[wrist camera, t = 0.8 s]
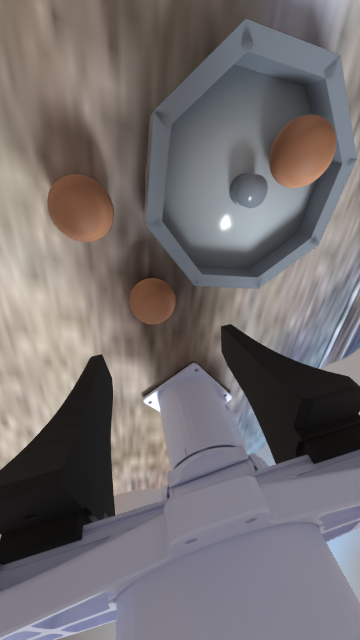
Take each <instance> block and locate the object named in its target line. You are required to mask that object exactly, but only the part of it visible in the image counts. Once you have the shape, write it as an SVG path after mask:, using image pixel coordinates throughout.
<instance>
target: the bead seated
mask: <svg viewBox="0 0 360 640" xmlns="http://www.w3.org/2000/svg"><path fill="white" fill-rule="evenodd" d="M335 150H336V133H335V130H334V128H333V126H332V124H331V123H330V122H329V121H328V120H327V119H326V118H324V117H322V116H320V115H314V114H309V115H304V116H301V117H298V118H296V119H294V120H292V121H291V122H290V123H288V124H287V125H286V126H285V127H284V128H283V129H282V130H281V131H280V132H279V134H278V135H277V137H276V138H275V140H274V142H273V144H272V147H271V150H270V155H269V167H270V171H271V174H272V176H273V178H274V179H275V180H276V181H277V182H278V183H279V184H280V185H282V186H284V187H288V188H299V187H303V186H306V185H308V184H310V183H312V182H314V181H315V180H316V179H318V178H319V177H320V176H321V175H322V174H323V173H324V172H325V171H326V169H327V168H328V166H329V165H330V163H331V161H332V159H333V156H334V154H335Z"/></svg>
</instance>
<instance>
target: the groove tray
mask: <svg viewBox="0 0 360 640" xmlns="http://www.w3.org/2000/svg"><path fill="white" fill-rule="evenodd" d="M309 114H314V115H320V116H322V117H324V118H326V119H327V120H328V121H329V122H330V123H331V124H332V126H333V128H334V130H335V133H336V150H335V154H334V156H333V159H332V161H331V163H330V165H329V166H328V168H327V169H326V171H325V172H324V173H323V174H322V175H321V176H320V177H319V178H318V179H316V180H315V181H314V182H312V183H310V184H308V185H306V186H303V187H299V188H288V187H284V186H282V185H280V184H279V183H278V182H277V181H276V180H275V179H274V178H273V176H272V174H271V171H270V167H269V155H270V150H271V147H272V144H273V142H274V140H275V138H276V137H277V135H278V134H279V132H280V131H281V130H282V129H283V128H284V127H285V126H286V125H287V124H288V123H290V122H291V121H292V120H294V119H296V118H298V117H301V116H304V115H309ZM356 160H357V156H356V150H355V144H354V137H353V131H352V125H351V119H350V113H349V107H348V100H347V94H346V88H345V82H344V76H343V70H342V63H341V57H340V55H339V54H337V53H334V52H331V51H329V50H326V49H324V48H321V47H318V46H316V45H313V44H311V43H308V42H305V41H303V40H300V39H298V38H295V37H292V36H290V35H287V34H285V33H282V32H279V31H277V30H274V29H272V28H269V27H266V26H264V25H261V24H259V23H256V22H253V21H251V20H248V19H245V20H244V21H243V22H242V23H241V24H240V25H239V26H238V27H237V28H236V29H235V30H234V31H233V32H232V33H231V34H230V35H229V36H228V37H227V38H226V39H225V40H224V41H223V42H222V43H221V44H220V45H219V46H218V47H217V48H216V49H215V50H214V51H213V52H212V53H211V54H210V55H209V56H208V57H207V58H206V59H205V60H204V61H203V62H202V63H201V64H200V65H199V66H198V67H197V68H196V69H195V70H194V71H193V72H192V73H191V74H190V75H189V76H188V77H187V78H186V79H185V80H184V81H183V82H182V83H181V84H180V85H179V86H178V87H177V88H176V89H175V90H174V91H173V92H172V93H171V94H170V95H169V96H168V97H167V98H166V99H165V100H164V101H163V102H162V103H161V104H160V105H159V106H158V107H157V108H156V109H155V110H154V111H153V112H152V114H151V115H150V121H149V138H148V156H147V163H146V172H145V190H146V191H145V208H144V222H145V224H146V226H147V228H148V229H149V230H150V231H151V232H152V234H153V235H154V236H155V237H156V239H157V240H158V241H159V242H160V244H161V245H162V246H163V247H164V249H165V250H166V251H167V252H168V254H169V255H170V256H171V257H172V259H173V260H174V261H175V262H176V263H177V265H178V266H179V267H180V268H181V270H182V271H183V272H184V273H185V275H186V276H187V277H188V278H189V280H190V281H191V282H192V283H193V285H194V286H206V287H230V288H254V289H259V288H260V287H261V286H263V285H264V284H266V283H267V282H268V281H270V280H271V279H272V278H274V277H275V276H276V275H278V274H279V273H281V272H282V271H283V270H285V269H286V268H287V267H289V266H290V265H291V264H293V263H294V262H296V261H297V260H298V259H300V258H301V257H302V256H304V255H305V254H306V253H308V252H309V251H311V250H312V249H313V248H315V247H316V246H317V245H319V243H320V240H321V238H322V236H323V234H324V232H325V229H326V227H327V225H328V223H329V220H330V218H331V216H332V214H333V212H334V209H335V207H336V205H337V203H338V200H339V198H340V196H341V194H342V191H343V189H344V187H345V185H346V183H347V180H348V178H349V176H350V174H351V171H352V169H353V167H354V165H355V162H356Z"/></svg>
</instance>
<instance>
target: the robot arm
mask: <svg viewBox="0 0 360 640" xmlns="http://www.w3.org/2000/svg"><path fill="white" fill-rule="evenodd" d="M221 348H222V354H223V356H224V358H225V361H226V363H227V365H228V367H229V368H230V370H231V372H232V373H233V375H234V377H235V378H236V380H237V382H238V383H239V385H240V387H241V388H242V390H243V392H244V393H245V395H246V397H247V399H248V401H249V403H250V405H251V407H252V409H253V411H254V413H255V415H256V418H257V420H258V422H259V424H260V427H261V429H262V431H263V433H264V436H265V438H266V441H267V443H268V445H269V448H270V450H271V453H272V455H273V458H274V460H275V463H276V465H273V466H270V467H268V465H267V464H266V462H265V461H264V460H263V459H262V458H260V457H258V456H257V455H256V454H250V455H247V450H246V444H245V441H244V438H243V436H242V434H241V432H240V430H239V427H238V425H237V423H236V421H235V419H234V417H233V415H232V412H231V410H230V408H229V406H228V404H227V402H228V401H229V400H231V399H232V396H231V394H230V393H229V392H227V391H226V390H225V389H224V388H223V387H222V386H221V385H220V384H219V383H218V382H216V381H215V380H214V379H213V378H212V377H211V376H210V375H209V374H208V373H206V372H205V371H204V370H203V369H202V368H201V367H200V366H199V365H198V364H196V363H192V364H190V365H189V366H187V367H186V368H184V369H183V370H182V371H180V372H179V373H177V374H176V375H175V376H173V377H172V378H170V379H169V380H167V381H166V382H165V383H163V384H162V385H160V386H159V387H158V388H156V389H155V390H153V391H152V392H151V393H149V394H148V395H146V396H145V397H144V398H143V401H144V403H146V404H148V405H149V406H151V407H153V408H154V409H156V410H158V411H159V412H160V413H161V419H162V424H163V430H164V436H165V441H166V447H167V453H168V458H169V464H170V470H171V471H169V472H167V478H168V485H166V486H164V487H163V488H162V490H161V493H160V496H159V499H158V502H156V503H153V504H150V505H146V506H143V507H140V508H137V509H134V510H131V511H128V512H124V513H121V514H118V515H115V507H114V495H113V481H112V464H111V419H112V404H113V385H112V377H111V375H110V372H109V370H108V368H107V365H106V363H105V360H104V358H103V356H102V354H101V355H97V356H92V357H91V358H90V359H89V361H88V363H87V365H86V367H85V369H84V371H83V372H82V374H81V376H80V378H79V380H78V381H77V383H76V385H75V386H74V388H73V390H72V391H71V393H70V394H69V396H68V397H67V399H66V400H65V402H64V403H63V405H62V406H61V407H60V409H59V410H58V411H57V413H56V414H55V415H54V417H53V418H52V419H51V420H50V421H49V423H48V424H47V425H46V426H45V427H44V428H43V429H42V430H41V432H40V433H39V434H38V435H37V436H36V437H35V438H34V439H33V440H32V441H31V442H30V443H29V444H28V445H27V446H26V447H25V448H24V449H23V450H22V451H21V452H20V453H19V454H18V455H17V456H16V457H15V458H14V459H13V460H11V461H10V462H9V463H8V464H7V465H6V466H5V467H4V468H2V469H1V470H0V534H1V535H2V536H1V539H0V640H56V639H59V638H62V637H66V636H69V635H72V634H75V633H78V632H82V631H85V630H88V629H91V628H94V627H98V626H101V625H104V624H107V623H110V622H114V621H116V640H360V603H359V601H358V599H357V597H356V596H355V594H354V592H353V590H352V588H351V587H350V585H349V583H348V581H347V580H346V578H345V576H344V574H343V572H342V570H341V569H340V567H339V565H338V563H337V561H336V560H335V558H334V556H333V554H332V552H331V551H330V549H329V547H328V545H327V543H326V542H328V541H330V540H333V539H335V538H337V537H339V536H342V535H344V534H346V533H349V532H351V531H353V530H355V529H358V528H360V415H359V414H358V413H359V411H360V386H359V385H358V384H357V383H355V382H354V381H353V380H352V379H351V378H350V377H348V376H344V375H340V374H335V373H331V372H327V371H324V370H321V369H317V368H314V367H311V366H308V365H305V364H302V363H300V362H297V361H295V360H292V359H290V358H287V357H285V356H283V355H281V354H279V353H277V352H275V351H273V350H271V349H269V348H267V347H265V346H263V345H262V344H260V343H258V342H257V341H255V340H254V339H252V338H250V337H249V336H247V335H246V334H244V333H243V332H241V331H240V330H238V329H237V328H236V327H234V326H233V325H231V324H229V325H225V326H221Z"/></svg>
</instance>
